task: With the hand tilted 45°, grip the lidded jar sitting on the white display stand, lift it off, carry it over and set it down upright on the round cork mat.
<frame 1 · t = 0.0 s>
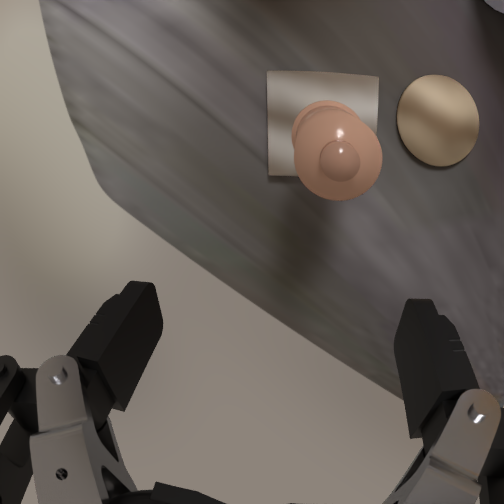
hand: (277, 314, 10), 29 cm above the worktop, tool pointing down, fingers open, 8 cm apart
lidded jar: (328, 135, 27), point 8 cm above the worktop, touching white display stand
mat: (439, 120, 31), on the worktop
white display stand: (322, 124, 34), on the worktop
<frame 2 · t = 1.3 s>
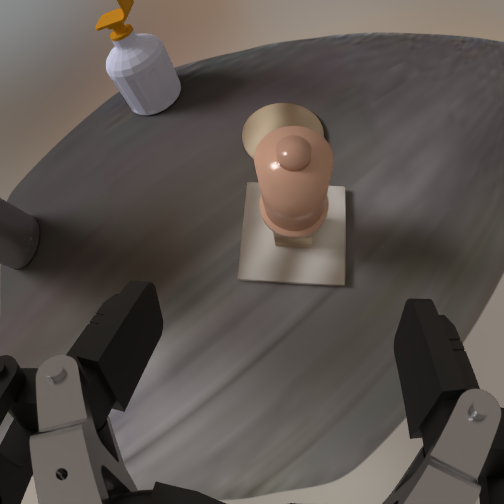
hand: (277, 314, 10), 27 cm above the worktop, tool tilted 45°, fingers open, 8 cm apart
soap bottle: (156, 96, 48), on the worktop
lidded jar: (294, 206, 31), point 8 cm above the worktop, touching white display stand
mat: (283, 135, 42), on the worktop
white display stand: (294, 233, 38), on the worktop
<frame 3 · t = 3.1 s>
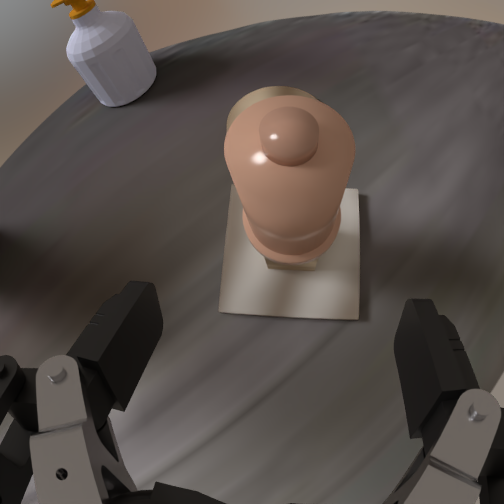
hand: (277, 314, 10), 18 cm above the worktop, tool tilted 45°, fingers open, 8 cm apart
soap bottle: (128, 85, 39), on the worktop
lidded jar: (291, 218, 22), point 8 cm above the worktop, touching white display stand
mat: (277, 124, 33), on the worktop
white display stand: (292, 250, 29), on the worktop
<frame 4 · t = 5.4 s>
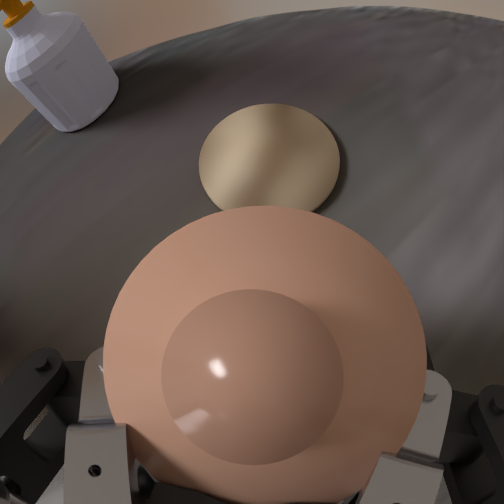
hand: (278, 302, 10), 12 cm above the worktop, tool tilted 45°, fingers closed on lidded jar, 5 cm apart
soap bottle: (86, 102, 30), on the worktop
lidded jar: (279, 352, 13), point 8 cm above the worktop, touching gripper, white display stand
mat: (269, 160, 25), on the worktop
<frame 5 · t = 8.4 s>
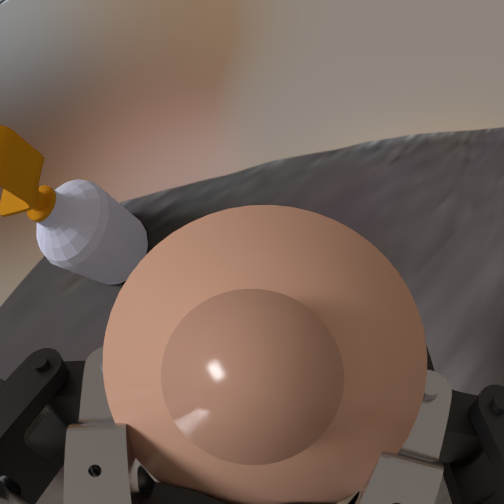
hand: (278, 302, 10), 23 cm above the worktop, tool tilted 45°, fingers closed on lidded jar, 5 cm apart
soap bottle: (117, 249, 38), on the worktop
lidded jar: (279, 352, 13), point 20 cm above the worktop, touching gripper
when the fingers open (6 cm above the worktop, at t = 11.8 s): lidded jar drops 2 cm, resting on mat.
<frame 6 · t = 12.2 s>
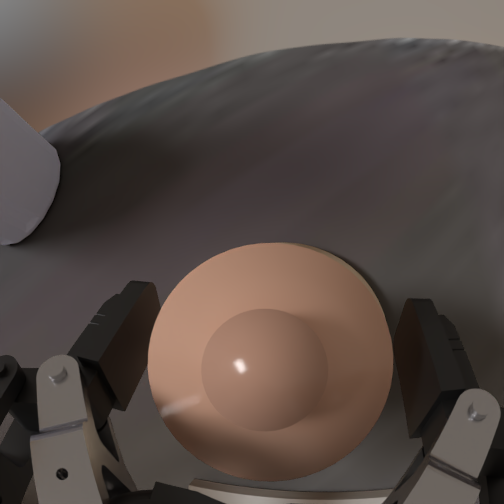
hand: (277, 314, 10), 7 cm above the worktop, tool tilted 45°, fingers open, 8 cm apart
soap bottle: (24, 194, 21), on the worktop
lidded jar: (281, 352, 15), point 1 cm above the worktop, touching mat
mat: (280, 350, 16), on the worktop
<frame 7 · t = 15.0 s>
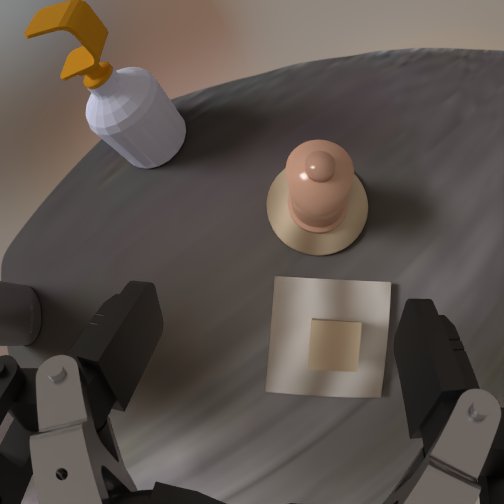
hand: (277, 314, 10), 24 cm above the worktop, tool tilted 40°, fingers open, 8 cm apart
soap bottle: (156, 140, 40), on the worktop
lidded jar: (318, 204, 34), point 1 cm above the worktop, touching mat
mat: (317, 205, 35), on the worktop
white display stand: (329, 338, 32), on the worktop
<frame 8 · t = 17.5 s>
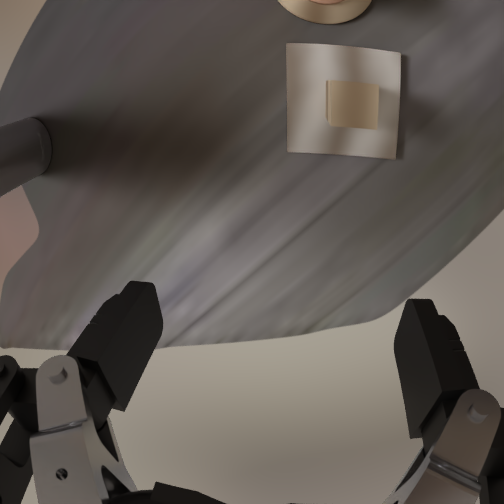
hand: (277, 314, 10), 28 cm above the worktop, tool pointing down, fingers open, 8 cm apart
white display stand: (343, 99, 31), on the worktop
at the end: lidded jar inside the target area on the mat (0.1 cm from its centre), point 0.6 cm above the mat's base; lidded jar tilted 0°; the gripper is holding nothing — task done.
